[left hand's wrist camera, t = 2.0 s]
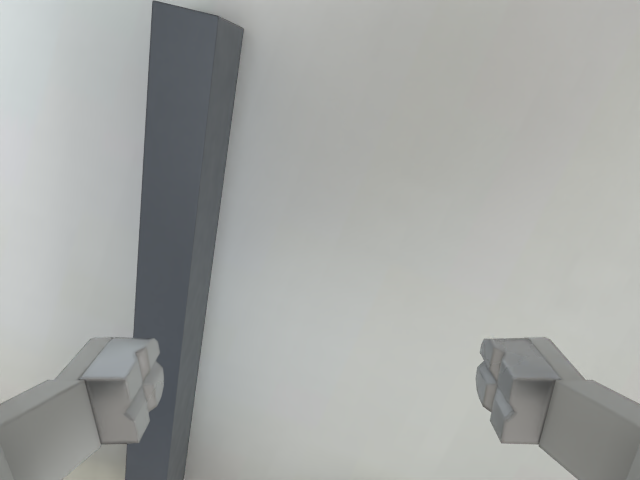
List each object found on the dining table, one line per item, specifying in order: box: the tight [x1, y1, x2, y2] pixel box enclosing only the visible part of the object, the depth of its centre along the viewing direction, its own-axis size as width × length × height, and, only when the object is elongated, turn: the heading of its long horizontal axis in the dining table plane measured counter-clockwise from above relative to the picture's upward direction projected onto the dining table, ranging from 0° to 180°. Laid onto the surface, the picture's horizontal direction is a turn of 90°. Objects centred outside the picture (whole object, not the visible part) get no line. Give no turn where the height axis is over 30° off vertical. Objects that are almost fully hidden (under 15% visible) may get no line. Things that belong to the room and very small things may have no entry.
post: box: [125, 1, 244, 480], centre depth 39 cm, size 52×4×8 cm, turn 168°
